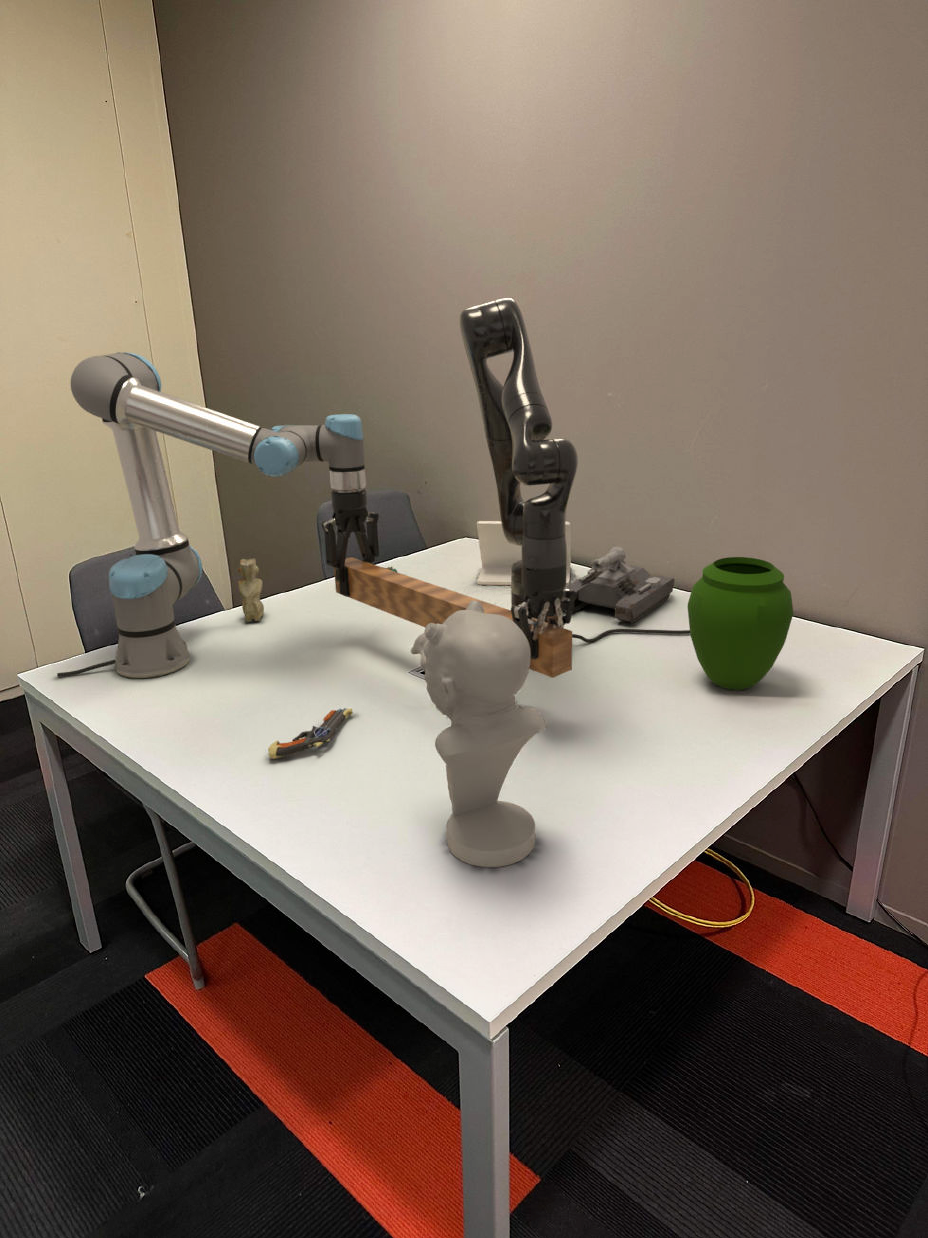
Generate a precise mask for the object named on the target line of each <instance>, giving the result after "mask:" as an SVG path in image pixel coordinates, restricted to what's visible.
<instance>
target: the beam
mask: <svg viewBox="0 0 928 1238" xmlns="http://www.w3.org/2000/svg"><path fill="white" fill-rule="evenodd" d="M362 560H363V559H358V558H356V557H353V556H350V557H346V559H345V566H344V567H347V568H348V579H349V593H350V596H348V597H347V598H349V599H351V600H355V601H357V602H359V603H362V604H364V605H367V606H369V607H372V608H375V609H377V610H380V611H382V612H385V613H387V614H389V615H392V616H395V617H398V618H400V619H402V620H404V621H407V622H410V623H412V624H415V625H416V626H417V625H418V626H419V627H423V628H424V629H425V628H426V626H427V625H428V624H430V623H434V624H443V623H444V622H445V620H446V619H447V618H448V617H450V616H451V615H452V614H453V613H455V612H457V611H459V610H466V609H467V607H468V605H469V603H470V601H472V600H474V601H478V602H480V603H481V605H482V608H483V609H484V613H485V614H497V615H502V616H505V617H507V618H509V619H511V620H512V621H513V618H512V613H511V609H508V608H504V607H501V606H499V605H495V604H493V603H491V602H486V601H483V600H481V599H478V598H475V597H472V596H469V595H466V594H463V593H461V592H456V591H453V590H451V589H448V588H445V587H442V586H439V585H436V584H433V583H430V582H427V581H424V580H421V579H419V578H415V577H412V576H409V575H407V574H404V573H400V572H398V571H397V572H395V571H392V570H389V569H386V568H387V567H384V568H383V566H379V565H376V564H373V563H372V564H371V563H368V562H365V561H362ZM333 573H334V574H333V575H334V583H335V593H337V594H339V595H341V594H340V588H339V582H338V581H337V580H336V572H335V568H334V567H333ZM532 619H533V620H535V621H537V620H538V619H535V618H532ZM533 628H534V626H533V625H532V627H531V631H532V632H533ZM572 634H573V630H570V629H567V628H562V627H559V626H556V625H553V624H550V623H547V622H544V624H543V627H541V628H540V631H539V635H538V638H537V639H539V657H538V658H537V659H535V660H534V659H531V658H530V666H529V670H531V671H534V672H537V673H539V674H542V675H544V676H547V677H549V678H552V679H554V678H556V677H558V676H560V675H563V674H565V673H567V672H570V671H572V670H573V638H572Z"/></svg>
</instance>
